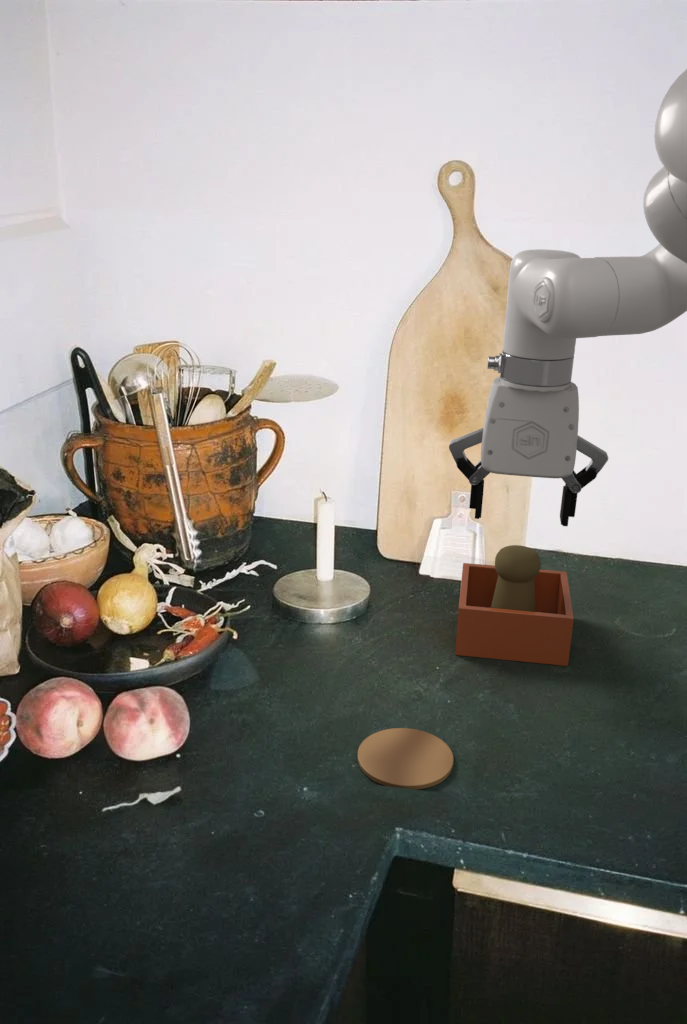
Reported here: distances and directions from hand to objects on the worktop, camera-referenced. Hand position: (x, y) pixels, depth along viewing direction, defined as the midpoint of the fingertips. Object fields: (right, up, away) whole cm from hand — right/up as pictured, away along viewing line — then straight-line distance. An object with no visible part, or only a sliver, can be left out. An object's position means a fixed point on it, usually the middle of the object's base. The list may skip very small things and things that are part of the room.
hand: (520, 518), depth 106 cm
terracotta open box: (0, -14, +5) cm, 15 cm away
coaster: (-14, -23, -19) cm, 32 cm away
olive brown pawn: (0, -14, +5) cm, 15 cm away
